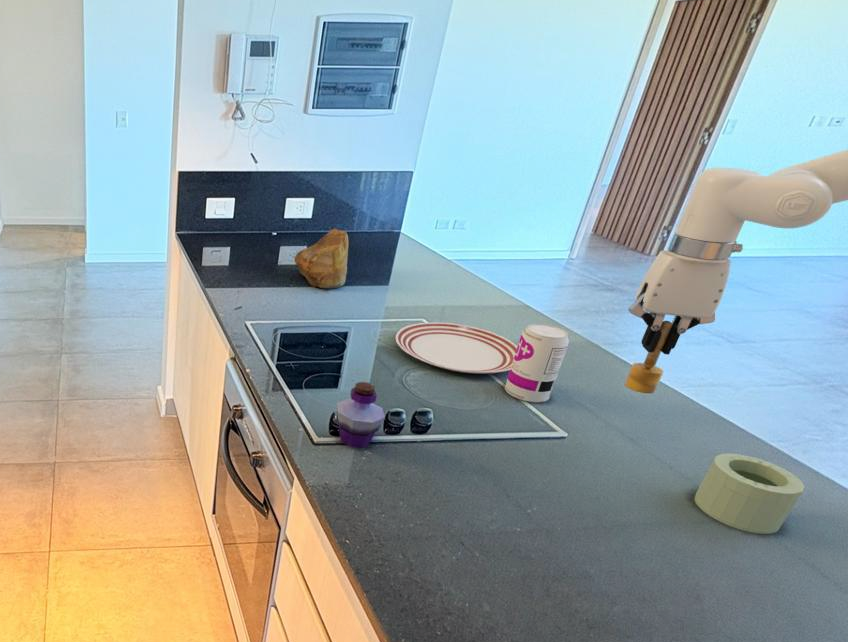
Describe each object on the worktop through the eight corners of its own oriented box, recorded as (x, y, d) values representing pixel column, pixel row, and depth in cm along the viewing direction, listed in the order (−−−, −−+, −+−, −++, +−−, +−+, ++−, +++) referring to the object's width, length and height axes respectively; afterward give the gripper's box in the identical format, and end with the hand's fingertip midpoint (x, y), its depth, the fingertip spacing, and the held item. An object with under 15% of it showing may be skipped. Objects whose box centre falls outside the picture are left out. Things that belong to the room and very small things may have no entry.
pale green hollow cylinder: (757, 501, 99) (780, 460, 96) (793, 542, 91) (820, 499, 87) (682, 488, 102) (702, 448, 99) (710, 527, 94) (733, 484, 90)
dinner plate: (489, 395, 130) (493, 381, 129) (371, 352, 149) (374, 340, 148) (539, 359, 146) (543, 347, 144) (427, 325, 165) (430, 313, 163)
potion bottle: (383, 438, 115) (396, 382, 110) (371, 460, 109) (384, 402, 104) (338, 424, 120) (348, 370, 114) (323, 445, 113) (333, 388, 108)
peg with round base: (651, 385, 112) (679, 318, 106) (657, 395, 108) (687, 327, 103) (622, 380, 114) (648, 314, 108) (627, 390, 110) (655, 322, 105)
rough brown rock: (299, 268, 211) (301, 225, 205) (350, 270, 205) (353, 226, 198) (286, 291, 193) (287, 245, 186) (342, 294, 186) (345, 246, 179)
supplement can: (510, 402, 128) (531, 336, 121) (498, 384, 135) (518, 321, 128) (553, 407, 126) (578, 340, 119) (540, 388, 133) (562, 324, 126)
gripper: (747, 246, 101) (699, 348, 109) (633, 237, 105) (596, 335, 113) (772, 259, 94) (720, 366, 102) (650, 249, 99) (609, 352, 107)
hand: (655, 349), depth 108 cm, fingers closed on peg with round base, 1 cm apart
